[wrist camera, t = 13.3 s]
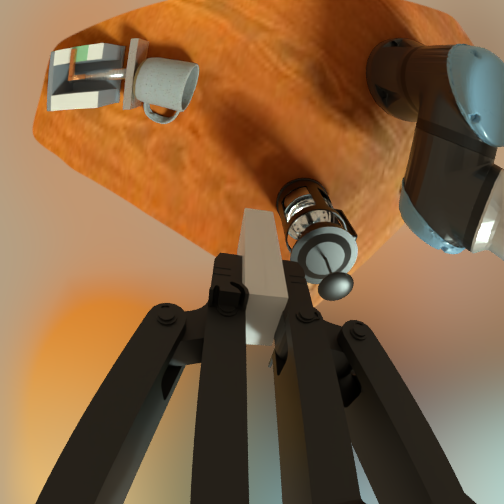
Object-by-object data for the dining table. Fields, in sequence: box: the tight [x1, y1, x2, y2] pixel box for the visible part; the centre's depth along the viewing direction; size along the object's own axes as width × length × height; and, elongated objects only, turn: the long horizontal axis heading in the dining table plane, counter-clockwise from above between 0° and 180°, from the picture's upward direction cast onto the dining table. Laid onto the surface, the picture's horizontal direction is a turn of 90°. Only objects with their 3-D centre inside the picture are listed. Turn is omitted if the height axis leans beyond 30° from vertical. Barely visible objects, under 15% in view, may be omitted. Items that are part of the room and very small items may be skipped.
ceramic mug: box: [132, 57, 199, 124], centre depth 35 cm, size 11×8×8 cm
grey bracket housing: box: [47, 43, 126, 111], centre depth 32 cm, size 10×10×7 cm
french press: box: [276, 178, 358, 301], centre depth 40 cm, size 12×9×23 cm
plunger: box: [68, 38, 149, 109], centre depth 32 cm, size 12×11×7 cm
